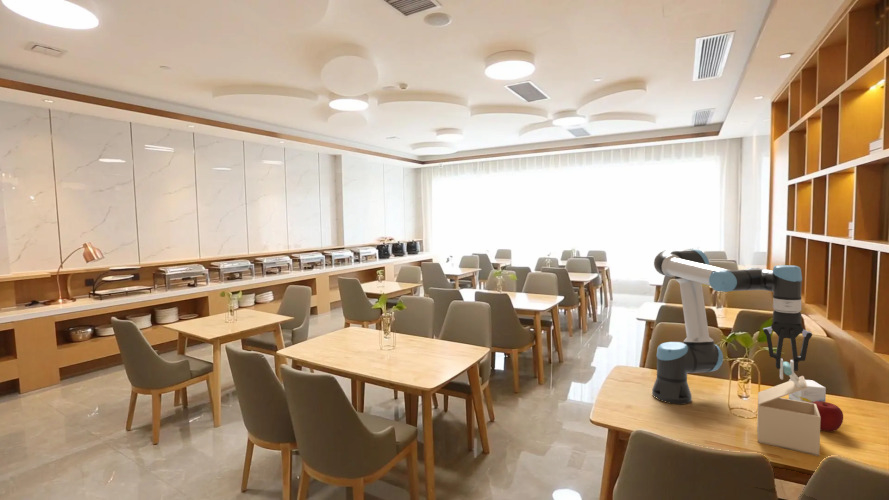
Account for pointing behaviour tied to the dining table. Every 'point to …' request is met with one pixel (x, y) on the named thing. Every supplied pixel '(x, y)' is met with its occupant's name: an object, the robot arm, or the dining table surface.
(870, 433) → the dining table surface
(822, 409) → the apple
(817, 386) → the ink box
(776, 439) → the carton
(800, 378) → the flap
